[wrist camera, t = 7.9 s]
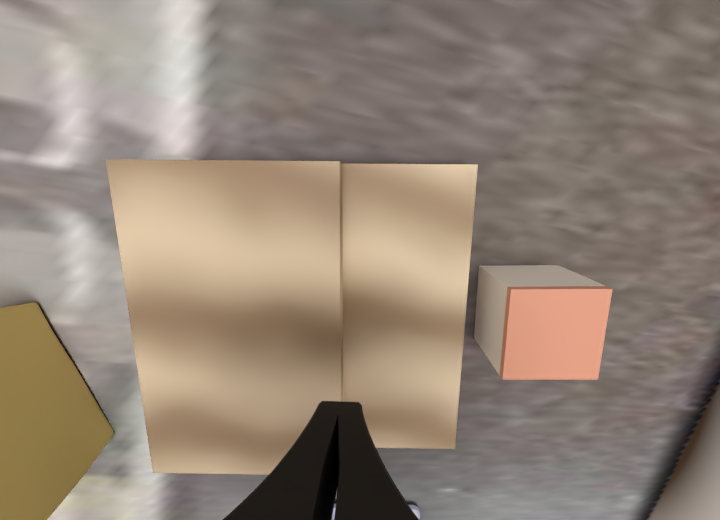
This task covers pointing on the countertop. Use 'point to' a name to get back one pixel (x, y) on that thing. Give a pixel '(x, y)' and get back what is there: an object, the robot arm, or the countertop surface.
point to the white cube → (541, 321)
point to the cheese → (42, 418)
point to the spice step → (292, 301)
